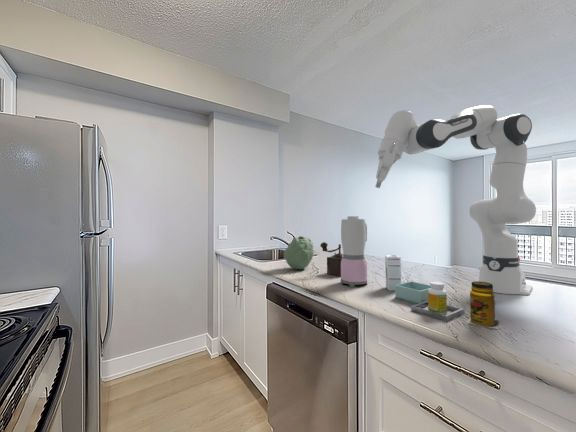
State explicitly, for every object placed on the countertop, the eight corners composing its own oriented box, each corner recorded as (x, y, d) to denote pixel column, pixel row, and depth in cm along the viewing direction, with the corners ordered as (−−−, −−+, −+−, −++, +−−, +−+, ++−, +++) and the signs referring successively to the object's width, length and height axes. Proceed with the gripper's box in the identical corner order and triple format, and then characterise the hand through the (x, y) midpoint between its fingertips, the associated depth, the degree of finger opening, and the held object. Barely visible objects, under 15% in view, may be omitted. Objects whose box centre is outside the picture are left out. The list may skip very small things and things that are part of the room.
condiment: (467, 323, 80) (466, 283, 80) (470, 315, 86) (470, 278, 86) (498, 330, 75) (497, 287, 75) (499, 320, 82) (499, 281, 82)
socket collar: (429, 303, 97) (429, 299, 97) (464, 313, 88) (464, 308, 88) (411, 310, 91) (411, 306, 91) (446, 321, 81) (446, 316, 81)
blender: (354, 288, 118) (353, 216, 118) (335, 283, 128) (334, 216, 128) (377, 283, 127) (376, 216, 127) (357, 278, 137) (356, 216, 137)
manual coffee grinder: (337, 271, 155) (337, 240, 155) (353, 274, 147) (353, 241, 147) (319, 275, 146) (318, 242, 146) (334, 278, 137) (334, 243, 137)
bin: (411, 293, 111) (410, 281, 111) (436, 299, 102) (436, 286, 102) (395, 297, 105) (395, 285, 105) (420, 305, 96) (420, 291, 96)
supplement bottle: (440, 316, 86) (439, 286, 86) (424, 310, 91) (424, 282, 90) (450, 313, 88) (449, 283, 88) (434, 308, 93) (434, 280, 93)
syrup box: (401, 291, 114) (401, 257, 114) (387, 290, 115) (386, 256, 115) (399, 287, 120) (398, 255, 119) (385, 286, 121) (384, 254, 121)
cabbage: (278, 269, 162) (278, 236, 162) (301, 265, 174) (300, 234, 174) (296, 273, 150) (296, 238, 150) (319, 268, 163) (318, 235, 162)
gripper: (404, 142, 92) (391, 179, 92) (394, 161, 112) (383, 192, 111) (386, 138, 94) (373, 174, 93) (379, 157, 114) (368, 188, 113)
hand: (378, 184), depth 102 cm, fingers open, 8 cm apart
